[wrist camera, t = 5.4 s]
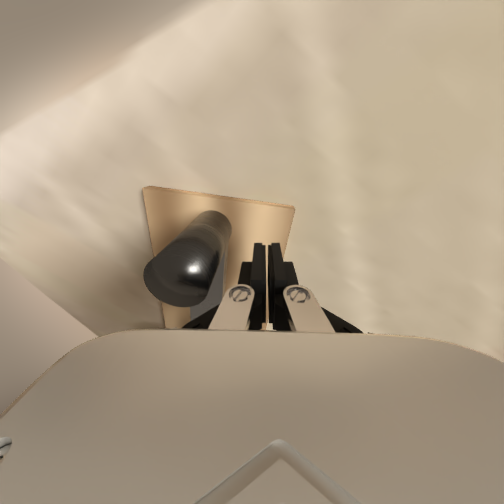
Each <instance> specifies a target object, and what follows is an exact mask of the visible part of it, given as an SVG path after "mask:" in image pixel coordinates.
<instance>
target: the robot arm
mask: <svg viewBox="0 0 504 504" xmlns="http://www.w3.org/2000/svg"><path fill="white" fill-rule="evenodd" d="M267 282H268V310H269V323H273V330H277V331H269V330H260V329H262V323H266V245H262V243H254V249H253V259H252V262H242V264H241V269H240V274H239V279H238V284H237V285H234V286H232V287H230V288H229V289H228V290H227V291H226V293H225V295H224V297H223V299H222V301H221V303H220V304H219V305H217V306H215V307H214V308H212V309H210V310H209V311H207V312H205V313H204V314H202V315H200V316H198V317H197V318H195V319H193V320H192V321H190V322H188V323H187V324H186V325H184V326H183V327H182V328H177V327H174V328H158V329H134V330H126V331H120V332H115V333H111V334H108V335H104V336H100V337H97V338H95V339H92V340H90V341H87V342H85V343H83V344H81V345H79V346H77V347H75V348H74V349H72V350H71V351H70V352H68V353H67V354H65V356H63V357H62V358H60V359H59V360H58V361H57V362H56V363H54V364H53V365H52V366H51V367H50V368H49V369H48V370H47V371H45V372H44V373H43V374H42V375H41V376H40V377H39V378H38V379H37V380H36V381H34V382H33V383H32V384H31V385H30V386H29V387H28V388H27V389H26V390H25V391H24V392H23V393H22V394H21V395H20V396H19V397H18V398H17V399H16V400H15V401H14V402H13V403H12V404H11V405H10V406H9V407H8V408H7V409H6V410H5V411H4V412H3V413H2V414H0V504H504V362H502V361H500V360H498V359H496V358H494V357H492V356H489V355H487V354H485V353H482V352H479V351H477V350H474V349H471V348H467V347H464V346H461V345H457V344H454V343H450V342H446V341H441V340H436V339H431V338H423V337H415V336H401V335H386V334H373V333H369V332H368V334H364V333H363V332H362V331H360V330H359V329H358V328H356V327H355V326H353V325H351V324H349V323H348V322H346V321H344V320H343V319H341V318H339V317H338V316H336V315H334V314H333V313H331V312H329V311H327V310H326V309H324V308H322V307H321V306H320V305H319V303H318V301H317V300H316V298H315V296H314V294H313V293H312V292H311V290H309V289H308V288H306V287H304V286H301V285H299V284H298V280H297V276H296V273H295V269H294V266H293V262H283V257H282V252H281V247H280V243H271V245H268V277H267Z"/></svg>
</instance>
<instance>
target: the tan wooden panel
mask: <svg viewBox="0 0 504 504" xmlns="http://www.w3.org/2000/svg"><path fill="white" fill-rule="evenodd" d="M142 190H143V196H144V202H145V208H146V214H147V220H148V226H149V231H150V237H151V243H152V249H153V255H154V257H155V256H156V255H157V254H158V253H159V252H161V251H162V250H163V249H164V248H165V247H166V246H167V245H168V244H169V243H170V242H171V241H172V240H173V239H174V238H175V237H176V236H178V235H179V234H180V233H181V232H182V231H183V230H184V229H185V228H186V227H187V226H188V225H189V224H190V223H191V222H192V221H193V220H194V219H196V218H197V217H198V216H199V215H200V214H201V213H203V212H205V211H208V210H214V211H218V212H220V213H222V214H224V215H225V216H226V217H227V218H228V220H229V221H230V223H231V226H232V233H231V236H230V239H229V243H228V258H227V273H226V287H225V293H226V291H227V290H228V289H229V288H230V287H232V286H234V285H237V284H238V279H239V274H240V269H241V264H242V262H252V259H253V249H254V243H262V245H266V323H262V329H260V330H266V326H267V322H268V318H269V310H268V282H267V277H268V245H271V243H280V247H281V252H282V257H284V253H285V249H286V245H287V241H288V237H289V233H290V229H291V225H292V221H293V217H294V213H295V208H294V206H290V205H283V204H276V203H269V202H262V201H255V200H248V199H240V198H233V197H226V196H219V195H212V194H205V193H198V192H191V191H183V190H176V189H169V188H162V187H155V186H148V187H144V188H142ZM161 303H162V309H163V315H164V321H165V327H166V328H174V327H177V328H182V327H183V326H184V325H186V324H187V323H188V322H190V321H191V316H190V307H176V306H172V305H169V304H166V303H164V302H162V301H161Z"/></svg>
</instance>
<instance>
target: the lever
mask: <svg viewBox="0 0 504 504" xmlns="http://www.w3.org/2000/svg"><path fill="white" fill-rule="evenodd" d="M231 233H232V226H231V223H230V221H229V220H228V218H227V217H226V216H225V215H224V214H222V213H220V212H218V211H214V210H208V211H205V212H203V213H201V214H200V215H199V216H198V217H197V218H196V219H194V220H193V221H192V222H191V223H190V224H189V225H188V226H187V227H186V228H185V229H184V230H183V231H182V232H181V233H180V234H179V235H178V236H176V237H175V238H174V239H173V240H172V241H171V242H170V243H169V244H168V245H167V246H166V247H165V248H164V249H163V250H162V251H161V252H159V253H158V254H157V255H156V256H155V257H154V258H153V259H152V260H151V261H150V262H149V263H148V264H147V265H146V267H145V269H144V281H145V284H146V286H147V288H148V289H149V291H150V292H151V293H152V294H153V295H154V296H155V297H156V298H158V299H159V300H161V301H162V302H164V303H166V304H169V305H172V306H176V307H190V316H191V321H192V320H193V319H195V318H197V317H198V316H200V315H202V314H204V313H205V312H207V311H209V310H210V309H212V308H214V307H215V306H217V305H219V304H220V303H221V301H222V299H223V297H224V295H225V287H226V273H227V258H228V243H229V239H230V236H231Z"/></svg>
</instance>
